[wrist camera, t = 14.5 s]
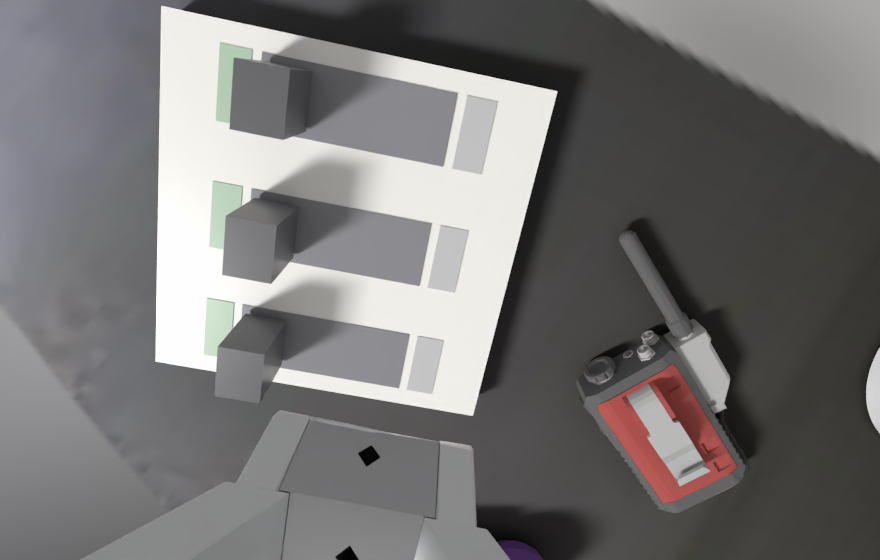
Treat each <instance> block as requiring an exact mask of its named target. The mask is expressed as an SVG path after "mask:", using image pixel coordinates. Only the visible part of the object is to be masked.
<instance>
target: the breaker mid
mask: <svg viewBox="0 0 880 560" xmlns="http://www.w3.org/2000/svg"><path fill="white" fill-rule="evenodd" d="M298 211H299V206H295V205H290V204H285V203H280V202H274V201H269V200H264V199H259V198H254V199H252V200H250V201H249V202H247V203H246V204H244V205H242V206H241V207H239V208H238V209H236V210H234V211H233V212H231V213H230V214H228V215H226V219H225V235H224V252H223V268H222V275H225V276H231V277H236V278H242V279H247V280H253V281H258V282H263V283H269V284H272V282H273V281H274V280H275V279H276V278H277V276H278V275H279V274H280V273H281V272H282V271H283V269H284V268H285V267H286V266H287V265H288V263H289V262H290V261H291V260H292V259H293V257H294V247H295V238H296V229H297V220H298Z"/></svg>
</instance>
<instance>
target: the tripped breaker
mask: <svg viewBox="0 0 880 560" xmlns="http://www.w3.org/2000/svg"><path fill="white" fill-rule="evenodd" d="M311 79H312V71H310V70H305V69H300V68H295V67H291V66H286V65H281V64H276V63H272V62H267V61H261V60H252V59H243V58H235V57H234V60H233V77H232V94H231V110H230V127H229V129H231V130H236V131H241V132H246V133H251V134H256V135H261V136H266V137H271V138H276V139H280V140H285V139H288V138H290V137H293V136H296V135H298V134H301V133H304V132H306V125H307V116H308V107H309V97H310V88H311Z"/></svg>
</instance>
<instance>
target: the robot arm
mask: <svg viewBox="0 0 880 560" xmlns="http://www.w3.org/2000/svg"><path fill="white" fill-rule="evenodd" d="M866 401H867V408H868V412H869V415H870V418H871V420H872V422H873V424H874V426H875V428H876V429H877V430H878V432H879V433H880V348H879V350H878V351H877V353H876V355H875V358H874V360H873V362H872V365H871V368H870V371H869V375H868V380H867V387H866ZM81 560H510V559H509V557H508V556H507V555H506V553H505V552H504V551H503V549H502V548H501V547H500V546H499V544H498V543H497V542H496V540H495V539H494V538H493V536H492V535H491V534H490V533H489V531H488V530H487V529H483V528H478V527H477V521H476V499H475V478H474V457H473V449H472V447H471V446H470V445H463V444H457V443H451V442H444V441H439V442H437V441H431V440H426V439H421V438H415V437H410V436H404V435H399V434H393V433H388V432H382V431H377V430H375V429H370V428H365V427H360V426H356V425H351V424H346V423H341V422H337V421H332V420H327V419H322V418H318V417H312V418H311V417H310V416H307V415H302V414H297V413H292V412H286V411H281V410H279V411H278V412H277V413H276V414H274V415H273V417H272V419H271V421H270V422H269V424H268V426H267V428H266V430H265V431H264V433H263V435H262V437H261V439H260V440H259V442H258V444H257V446H256V448H255V449H254V451H253V453H252V455H251V457H250V458H249V460H248V462H247V464H246V466H245V467H244V469H243V471H242V473H241V475H240V476H239V478H238V480H237V482H236V484H235V483H229V482H224V483H222V484H220V485H218V486H216V487H214V488H212V489H211V490H209V491H207V492H205V493H203V494H201V495H199V496H198V497H196V498H194V499H192V500H190V501H188V502H186V503H185V504H183V505H181V506H179V507H177V508H175V509H174V510H172V511H170V512H168V513H166V514H164V515H163V516H161V517H159V518H157V519H155V520H153V521H151V522H149V523H148V524H146V525H144V526H142V527H140V528H138V529H136V530H135V531H133V532H131V533H129V534H127V535H125V536H123V537H122V538H120V539H118V540H116V541H114V542H112V543H111V544H109V545H107V546H105V547H103V548H101V549H99V550H98V551H96V552H94V553H92V554H90V555H88V556H86V557H85V558H83V559H81Z"/></svg>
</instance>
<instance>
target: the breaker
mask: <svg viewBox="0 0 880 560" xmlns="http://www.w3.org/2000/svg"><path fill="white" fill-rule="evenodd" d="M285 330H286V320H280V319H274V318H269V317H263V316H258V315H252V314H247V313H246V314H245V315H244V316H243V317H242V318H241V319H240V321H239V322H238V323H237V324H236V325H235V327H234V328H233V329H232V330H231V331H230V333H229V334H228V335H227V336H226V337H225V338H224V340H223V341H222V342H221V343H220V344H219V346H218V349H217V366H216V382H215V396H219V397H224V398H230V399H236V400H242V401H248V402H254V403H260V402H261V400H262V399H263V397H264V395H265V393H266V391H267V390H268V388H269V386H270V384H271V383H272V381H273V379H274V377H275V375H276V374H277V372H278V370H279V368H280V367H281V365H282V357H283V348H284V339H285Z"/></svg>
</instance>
